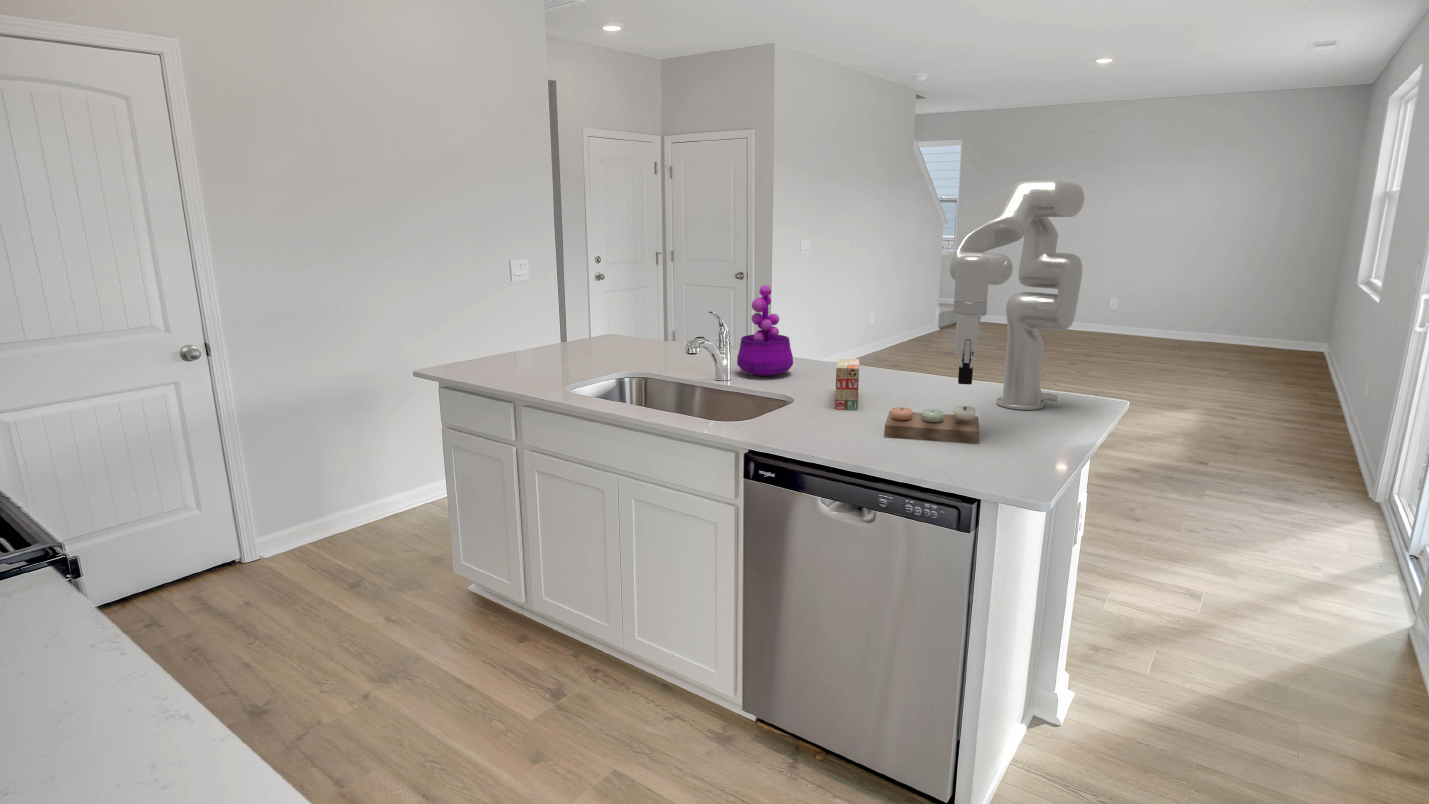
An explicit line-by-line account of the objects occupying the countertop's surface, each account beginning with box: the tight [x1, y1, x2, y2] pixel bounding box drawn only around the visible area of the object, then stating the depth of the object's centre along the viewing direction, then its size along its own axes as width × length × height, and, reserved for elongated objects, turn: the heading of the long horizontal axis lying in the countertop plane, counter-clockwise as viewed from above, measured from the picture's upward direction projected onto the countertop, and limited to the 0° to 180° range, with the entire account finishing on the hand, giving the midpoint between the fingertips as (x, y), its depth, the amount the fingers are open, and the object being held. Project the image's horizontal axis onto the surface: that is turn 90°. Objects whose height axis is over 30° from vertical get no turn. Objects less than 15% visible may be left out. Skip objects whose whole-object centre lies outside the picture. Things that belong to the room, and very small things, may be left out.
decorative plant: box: [736, 284, 794, 377], centre depth 259 cm, size 19×18×30 cm
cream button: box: [953, 405, 976, 419], centre depth 191 cm, size 5×5×2 cm
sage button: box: [921, 408, 944, 422], centre depth 194 cm, size 5×5×2 cm
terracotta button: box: [891, 406, 913, 420], centre depth 196 cm, size 5×5×2 cm
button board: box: [883, 410, 980, 444], centre depth 195 cm, size 22×14×3 cm, turn 73°
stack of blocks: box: [834, 358, 860, 411], centre depth 225 cm, size 21×6×12 cm, turn 169°
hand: (964, 383), depth 190 cm, fingers closed
